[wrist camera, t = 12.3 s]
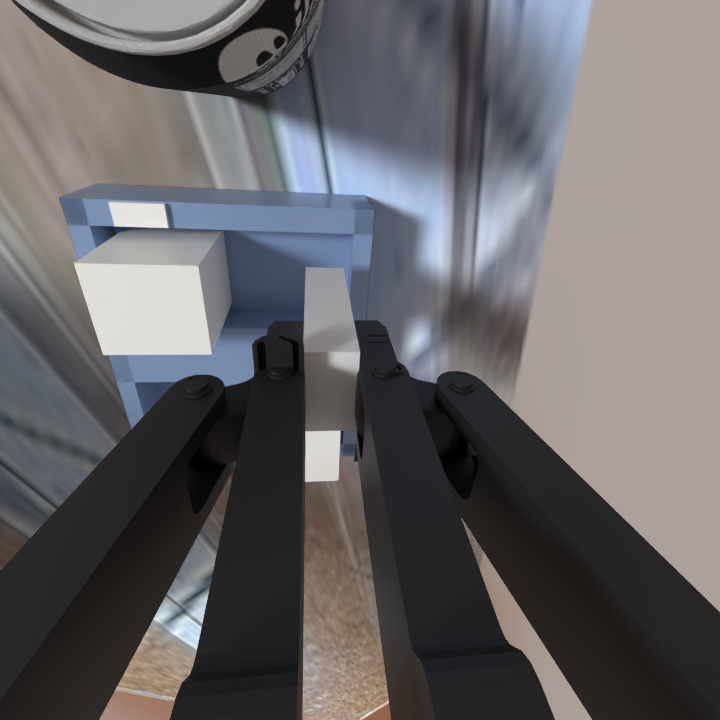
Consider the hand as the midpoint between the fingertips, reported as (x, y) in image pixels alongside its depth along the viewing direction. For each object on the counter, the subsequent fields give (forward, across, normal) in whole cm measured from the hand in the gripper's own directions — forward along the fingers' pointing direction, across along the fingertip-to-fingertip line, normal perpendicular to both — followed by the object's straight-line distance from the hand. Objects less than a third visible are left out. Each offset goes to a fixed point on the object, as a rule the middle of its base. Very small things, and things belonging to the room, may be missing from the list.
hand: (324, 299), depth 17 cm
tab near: (+4, -6, 0) cm, 7 cm away
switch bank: (+5, -4, -4) cm, 7 cm away
